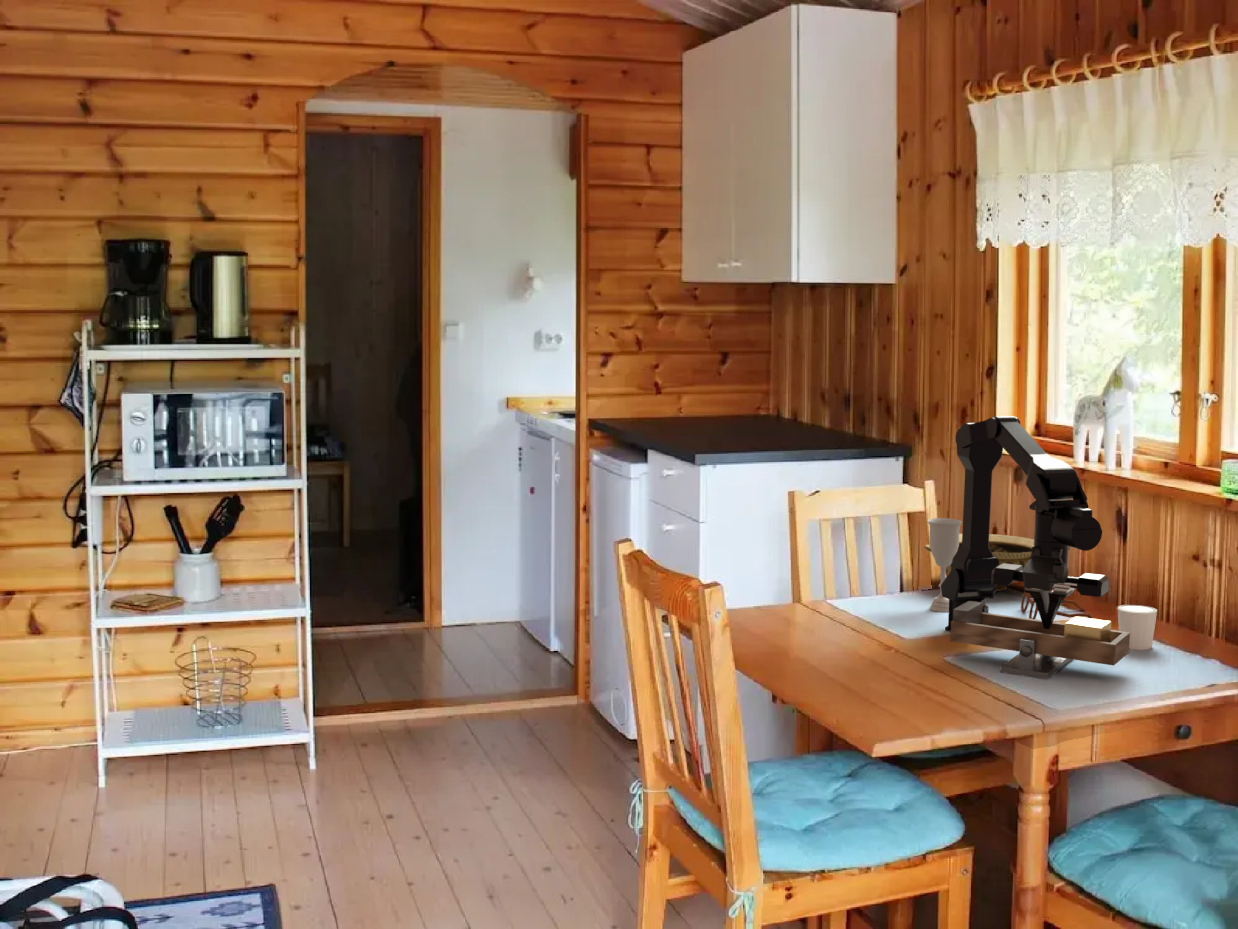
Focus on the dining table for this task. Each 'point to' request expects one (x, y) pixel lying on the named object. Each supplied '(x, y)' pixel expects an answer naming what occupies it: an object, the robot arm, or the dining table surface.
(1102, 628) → the brass block
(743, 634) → the dining table surface
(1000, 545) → the ceramic bowl
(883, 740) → the dining table surface
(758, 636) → the dining table surface
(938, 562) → the chalice
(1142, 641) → the white cup
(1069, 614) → the glasses
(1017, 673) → the pivot stand
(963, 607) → the beam
